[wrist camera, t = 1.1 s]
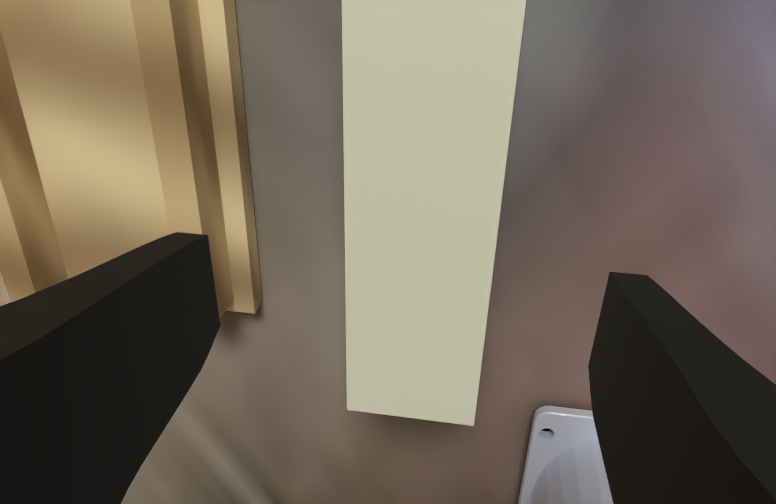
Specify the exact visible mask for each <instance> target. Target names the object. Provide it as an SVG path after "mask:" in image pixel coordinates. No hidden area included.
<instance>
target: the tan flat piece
mask: <svg viewBox="0 0 776 504" xmlns="http://www.w3.org/2000/svg"><path fill="white" fill-rule="evenodd" d="M175 232H182V233H193V234H204V235H208V239H209V246H210V254H211V261H212V268H213V275H214V283H215V290H216V297H217V305H218V312H219V319H221V318H222V316H223V314H224V313H225V311H235V312H244V313H253V314H255V313H256V311H257V309H258V307H259V306H260V304H261V302H262V290H261V279H260V269H259V258H258V247H257V236H256V226H255V215H254V204H253V194H252V183H251V172H250V161H249V151H248V140H247V129H246V118H245V108H244V97H243V86H242V76H241V65H240V54H239V43H238V33H237V22H236V11H235V0H0V270H1V273H2V276H3V279H4V282H5V286H6V289H7V292H8V295H9V298H10V301H11V302H14V301H16V300H19V299H21V298H24V297H26V296H29V295H31V294H34V293H36V292H38V291H41V290H43V289H45V288H48V287H50V286H53V285H55V284H57V283H60V282H62V281H64V280H67V279H69V278H72V277H74V276H76V275H79V274H81V273H83V272H85V271H87V270H90V269H92V268H94V267H96V266H98V265H100V264H103V263H105V262H107V261H109V260H111V259H114V258H116V257H118V256H120V255H122V254H124V253H127V252H129V251H131V250H133V249H135V248H138V247H140V246H142V245H144V244H147V243H149V242H151V241H154V240H156V239H158V238H161V237H163V236H166V235H169V234H172V233H175Z"/></svg>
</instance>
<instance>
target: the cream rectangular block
mask: <svg viewBox="0 0 776 504" xmlns="http://www.w3.org/2000/svg"><path fill="white" fill-rule="evenodd" d="M525 5H526V0H342V48H343V128H344V208H345V289H346V369H347V410H353V411H360V412H368V413H376V414H384V415H392V416H400V417H407V418H415V419H423V420H431V421H439V422H447V423H454V424H462V425H470V426H474V421H475V413H476V405H477V396H478V388H479V380H480V372H481V364H482V356H483V347H484V339H485V331H486V323H487V315H488V307H489V299H490V290H491V282H492V274H493V266H494V258H495V250H496V241H497V233H498V225H499V217H500V209H501V201H502V193H503V184H504V176H505V168H506V160H507V152H508V144H509V135H510V127H511V119H512V111H513V103H514V95H515V87H516V78H517V70H518V62H519V54H520V46H521V38H522V29H523V21H524V13H525Z"/></svg>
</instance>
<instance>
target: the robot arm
mask: <svg viewBox="0 0 776 504" xmlns="http://www.w3.org/2000/svg"><path fill="white" fill-rule="evenodd" d="M219 327H220V319H219V312H218V305H217V297H216V290H215V283H214V275H213V268H212V261H211V254H210V246H209V239H208V235H204V234H193V233H182V232H175V233H172V234H169V235H166V236H163V237H161V238H158V239H156V240H154V241H151V242H149V243H147V244H144V245H142V246H140V247H138V248H135V249H133V250H131V251H129V252H127V253H124V254H122V255H120V256H118V257H116V258H114V259H111V260H109V261H107V262H105V263H103V264H100V265H98V266H96V267H94V268H92V269H90V270H87V271H85V272H83V273H81V274H79V275H76V276H74V277H72V278H69V279H67V280H64V281H62V282H60V283H57V284H55V285H53V286H50V287H48V288H45V289H43V290H41V291H38V292H36V293H34V294H31V295H29V296H26V297H24V298H21V299H19V300H16V301H14V302H11V303H8V304H6V305H3V306H0V504H121V502H122V500H123V498H124V496H125V494H126V491H127V490H128V488H129V486H130V484H131V482H132V481H133V479H134V477H135V475H136V474H137V472H138V470H139V468H140V467H141V465H142V463H143V462H144V460H145V459H146V457H147V455H148V454H149V452H150V451H151V449H152V448H153V446H154V444H155V443H156V441H157V440H158V438H159V436H160V435H161V433H162V432H163V430H164V429H165V427H166V425H167V424H168V422H169V421H170V419H171V418H172V416H173V414H174V413H175V411H176V410H177V408H178V406H179V405H180V403H181V402H182V400H183V398H184V397H185V395H186V394H187V392H188V390H189V389H190V387H191V385H192V384H193V382H194V381H195V379H196V377H197V376H198V374H199V372H200V371H201V369H202V367H203V364H204V362H205V360H206V358H207V356H208V354H209V351H210V349H211V347H212V344H213V342H214V339H215V337H216V335H217V332H218V330H219ZM588 367H589V379H590V392H591V402H592V411H590V410H581V409H573V408H565V407H556V406H543V407H540V408H538V409H537V410H536V411H535V413H534V416H533V422H532V427H531V433H530V439H529V444H528V450H527V455H526V461H525V466H524V472H523V477H522V483H521V488H520V494H519V500H518V504H776V385H775V384H774V383H773V382H771V381H770V380H769V379H768V378H766V377H765V376H764V375H762V374H761V373H760V372H759V371H757V370H756V369H755V368H753V367H752V366H751V365H750V364H748V363H747V362H746V361H744V360H743V359H742V358H741V357H740V356H738V355H737V354H736V353H735V352H734V351H732V350H731V349H730V348H729V347H728V346H726V345H725V344H724V343H723V342H722V341H721V340H719V339H718V338H717V337H716V336H715V335H714V334H713V333H711V332H710V331H709V330H708V329H707V328H706V327H705V326H703V325H702V324H701V323H700V322H699V321H698V320H697V319H696V318H695V317H693V316H692V315H691V314H690V313H689V312H688V311H687V310H686V309H685V308H684V307H683V306H681V305H680V304H679V303H678V302H677V301H676V300H675V299H674V298H673V297H672V296H670V295H669V294H668V293H667V292H666V291H665V290H664V289H663V288H662V287H661V286H659V285H658V284H657V283H656V282H655V281H654V280H652V279H651V278H650V277H648V276H647V275H638V274H627V273H616V272H610V273H609V277H608V282H607V286H606V291H605V295H604V299H603V304H602V308H601V313H600V317H599V321H598V326H597V330H596V335H595V339H594V343H593V348H592V352H591V357H590V361H589V365H588ZM545 428H548V429H551V430H550V431H543V430H542V429H545Z"/></svg>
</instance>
